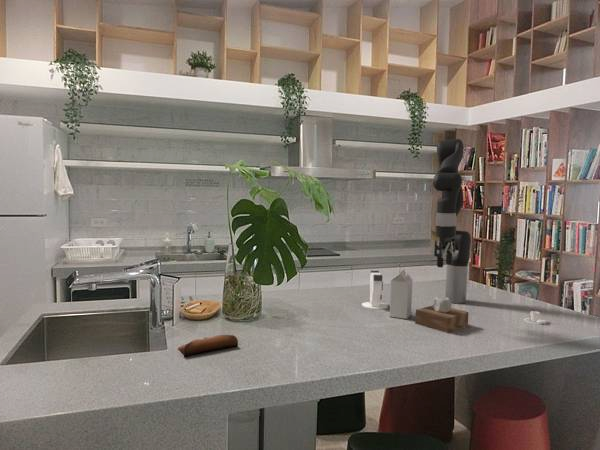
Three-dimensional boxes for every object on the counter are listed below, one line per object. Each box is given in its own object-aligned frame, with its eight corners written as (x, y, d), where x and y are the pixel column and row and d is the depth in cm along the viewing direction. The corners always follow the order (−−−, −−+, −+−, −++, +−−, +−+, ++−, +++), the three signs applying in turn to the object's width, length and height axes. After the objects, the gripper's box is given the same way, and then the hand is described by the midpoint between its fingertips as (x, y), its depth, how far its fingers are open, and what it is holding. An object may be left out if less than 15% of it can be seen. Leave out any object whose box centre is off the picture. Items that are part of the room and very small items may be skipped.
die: (439, 313, 169) (440, 300, 169) (432, 309, 174) (433, 296, 174) (451, 312, 170) (452, 299, 170) (444, 309, 175) (444, 296, 175)
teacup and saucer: (549, 326, 175) (550, 316, 175) (527, 324, 177) (528, 314, 176) (542, 320, 184) (543, 310, 183) (521, 318, 185) (522, 308, 185)
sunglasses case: (227, 338, 151) (231, 325, 148) (235, 355, 146) (239, 341, 143) (174, 349, 141) (178, 334, 138) (181, 366, 136) (185, 351, 133)
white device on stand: (390, 309, 192) (391, 275, 191) (363, 309, 193) (364, 274, 191) (385, 302, 204) (386, 270, 203) (360, 302, 205) (361, 269, 203)
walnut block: (436, 318, 182) (436, 304, 182) (467, 327, 172) (468, 312, 171) (415, 324, 174) (415, 309, 173) (447, 334, 163) (447, 318, 162)
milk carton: (389, 316, 182) (391, 270, 180) (394, 312, 188) (396, 268, 187) (406, 319, 179) (408, 272, 177) (411, 315, 185) (413, 269, 183)
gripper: (444, 222, 182) (442, 261, 184) (428, 225, 171) (427, 267, 173) (462, 223, 177) (461, 264, 179) (447, 226, 166) (446, 269, 168)
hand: (444, 265), depth 176 cm, fingers open, 8 cm apart
